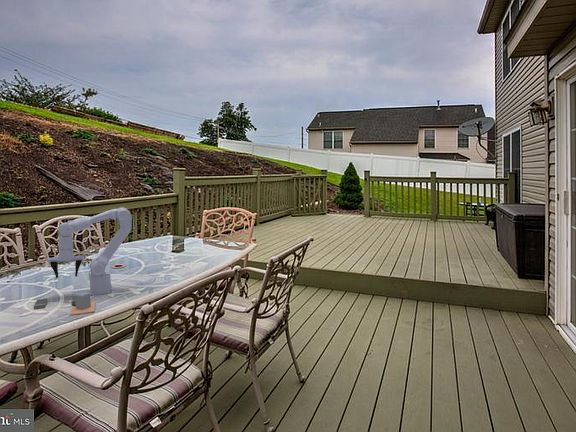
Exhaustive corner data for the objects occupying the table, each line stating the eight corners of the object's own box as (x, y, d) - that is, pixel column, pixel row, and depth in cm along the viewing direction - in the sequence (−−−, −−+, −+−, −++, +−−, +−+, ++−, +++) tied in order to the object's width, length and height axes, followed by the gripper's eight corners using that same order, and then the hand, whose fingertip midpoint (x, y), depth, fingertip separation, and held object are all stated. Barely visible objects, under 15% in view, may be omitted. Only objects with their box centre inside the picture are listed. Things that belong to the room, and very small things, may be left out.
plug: (75, 303, 158) (75, 290, 157) (90, 306, 156) (90, 293, 155) (67, 306, 154) (67, 293, 153) (83, 309, 152) (82, 296, 151)
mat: (95, 302, 162) (95, 300, 162) (94, 312, 150) (94, 311, 150) (72, 304, 158) (72, 303, 158) (69, 315, 147) (69, 314, 146)
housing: (83, 297, 167) (83, 294, 167) (82, 303, 160) (81, 299, 160) (37, 302, 159) (37, 299, 159) (33, 309, 152) (33, 305, 152)
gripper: (84, 246, 173) (84, 273, 174) (48, 247, 166) (49, 275, 168) (83, 248, 167) (84, 277, 168) (46, 250, 160) (47, 280, 161)
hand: (66, 276), depth 167 cm, fingers open, 7 cm apart
